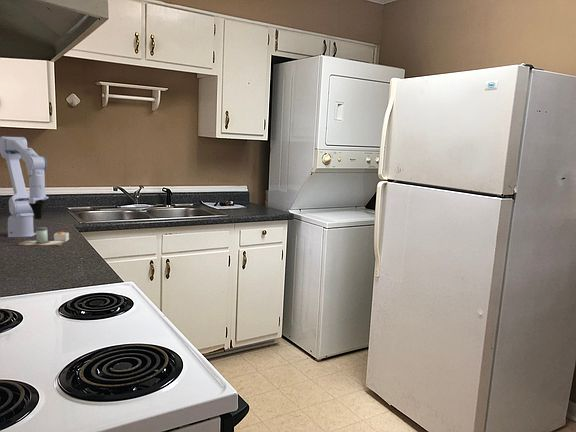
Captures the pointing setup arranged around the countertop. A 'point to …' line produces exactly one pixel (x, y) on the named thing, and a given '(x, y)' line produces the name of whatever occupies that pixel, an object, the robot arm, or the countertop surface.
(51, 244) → the sketch pad
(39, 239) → the ink stamp
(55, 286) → the countertop surface
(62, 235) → the button box
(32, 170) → the robot arm
